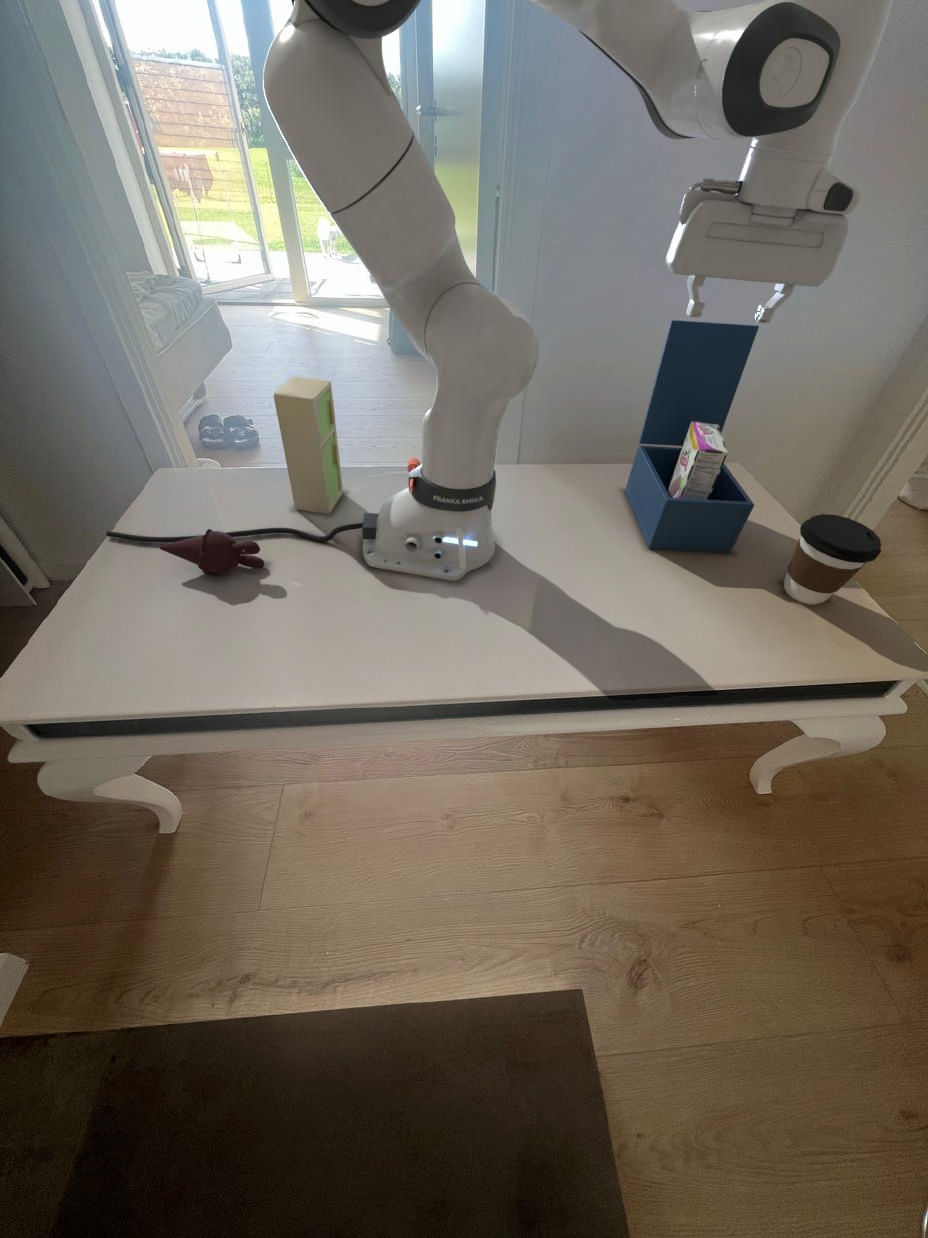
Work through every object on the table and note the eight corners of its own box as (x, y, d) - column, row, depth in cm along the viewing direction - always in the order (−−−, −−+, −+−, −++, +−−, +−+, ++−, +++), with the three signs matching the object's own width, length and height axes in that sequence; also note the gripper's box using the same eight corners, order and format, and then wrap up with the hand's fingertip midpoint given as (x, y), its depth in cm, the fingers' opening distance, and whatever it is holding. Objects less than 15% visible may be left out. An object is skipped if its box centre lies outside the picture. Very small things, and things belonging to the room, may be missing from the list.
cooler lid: (759, 326, 87) (746, 321, 91) (672, 320, 87) (663, 315, 91) (716, 447, 100) (706, 439, 104) (639, 443, 99) (633, 434, 103)
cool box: (730, 552, 93) (754, 504, 86) (648, 548, 93) (666, 500, 86) (695, 494, 107) (714, 449, 100) (624, 490, 107) (638, 445, 100)
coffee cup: (829, 578, 89) (871, 518, 81) (848, 621, 82) (896, 560, 73) (762, 566, 91) (797, 506, 82) (775, 607, 83) (814, 546, 75)
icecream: (143, 552, 74) (253, 561, 76) (159, 513, 78) (263, 523, 80) (160, 580, 80) (261, 588, 82) (174, 542, 84) (271, 551, 86)
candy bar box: (660, 501, 103) (690, 419, 91) (686, 505, 102) (719, 423, 91) (665, 532, 95) (698, 447, 83) (693, 537, 94) (730, 452, 83)
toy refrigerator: (333, 515, 94) (317, 398, 80) (294, 510, 95) (271, 392, 80) (347, 493, 100) (335, 380, 86) (311, 488, 101) (292, 375, 86)
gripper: (699, 178, 57) (657, 318, 67) (876, 196, 59) (810, 332, 68) (681, 174, 62) (645, 306, 72) (846, 191, 63) (788, 318, 73)
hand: (726, 318), depth 70 cm, fingers open, 8 cm apart
